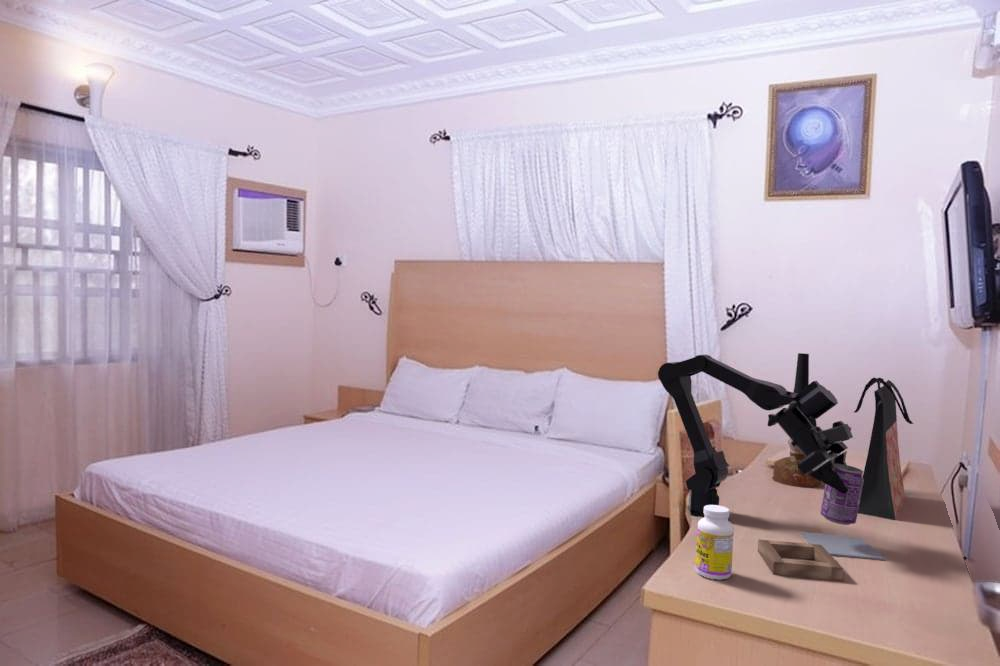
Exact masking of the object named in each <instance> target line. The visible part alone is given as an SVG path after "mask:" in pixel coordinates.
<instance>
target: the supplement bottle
mask: <svg viewBox="0 0 1000 666" xmlns="http://www.w3.org/2000/svg"><path fill="white" fill-rule="evenodd" d="M703 513H704V515H705V516H704V517H702V518H700V520H698V522H697V531H696V532H697V533H696V547H695V548H696V549H695V565H694V566H695V572H697V574H698V575H699V576H701V575H702V576H701V577H703V576H704V577H703V578H705V577H707V578H706V579H709V578H710V580H714V579H717V580H716V581H720V580H722V581H723V579H724V580H727V579H729V578H730V577H731V576H732V570H733V568H732V566H733V551H734V550H733V549H734V534H735V527H734V526H733V525H734V524H732V522H730V521H729V520H728V519H729V517H730V509H729V508H728V507H727V506H724V505H720V504H719V505H706V506H704V512H703Z"/></svg>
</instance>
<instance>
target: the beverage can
mask: <svg viewBox="0 0 1000 666" xmlns="http://www.w3.org/2000/svg"><path fill="white" fill-rule="evenodd" d="M834 469H835V470H836V472H837V474H838V475H839V477H840V478H841V480H842V481H843V483H844V484H845V486H846V488H847V489H848V492H846V493H845V494H844V493H842V492H840V491H838V490H836V489H834V488H833V487H831V486H829V485H827V484H825V486H824V492H823V497H822V501H821V505H820V506H821V508H820V510H819V511H820V513H819V514H820V515H821V516H822V517H824V519H825V520H827V521H830V522H832V523H834V524H838V525H844V526H845V525H846V526H849V525H854V524H855V523H856V522H857V518H858V514H859V513H858V509H859V504H860V498H861V493H862V488H863V483H864V479H863V473H864V470H862V469H860V468H858V467H855V466H852V465H848V464H847V465H843V464H834Z"/></svg>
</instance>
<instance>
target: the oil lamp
mask: <svg viewBox="0 0 1000 666" xmlns="http://www.w3.org/2000/svg"><path fill="white" fill-rule="evenodd" d="M809 358H810V354H809V353H801V352H797V361H796V367H795V369H796V370H795V379H794V380H795V381H794V387H793V393H797V394H799V393H800V392H801V391H803V390H804V389H805V388H807V387H808V385H809V384H810V382H809V381H810V380H809V378H810V377H809V375H810V374H809V373H810V372H809V371H810V368H809V367H810V363H809V362H810V360H809ZM795 404H797V403H792V404H788V407H787V409H790V408H791V407H793V406H794V405H795ZM798 409H799V408H798ZM799 410H800V409H799ZM800 411H801V410H800ZM805 417H806V418H807V419H808V420H809V421H810V422H811V424H812V425H813V426H814V427H816V426H817V427H818V425H817V419H815V418H813V417H811V418H808V417H807V416H805ZM791 442H793V441H792V440H791V439H790V438H789V439H788V440H787V443H788V446H789V448H790V451H789V456H784V457H782V458H779V459H777V460H775V461H774V462H773V472H772V474H773V476H772V478H771V479H772V480H773V481H774V482H777V483H778V482H779V484H781V483H782V485H786V486H791V487H797V488H809V489H810V488H819V487H821V485H822V483H821V481H820V480H818V479H816V478H814V477H812V476H809V474H810V473H812V472H813V470H811V471H809V472H808V473H807V474H805V475H803V474H802V473H801V472H800V470H799V469H798V462H799V461H801V460H802V459H804V457H806V456H805V455H804V454H803V453H802V452H801V450H800V449H799V448H798V447H797V446H793V445H792V444H791Z"/></svg>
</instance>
